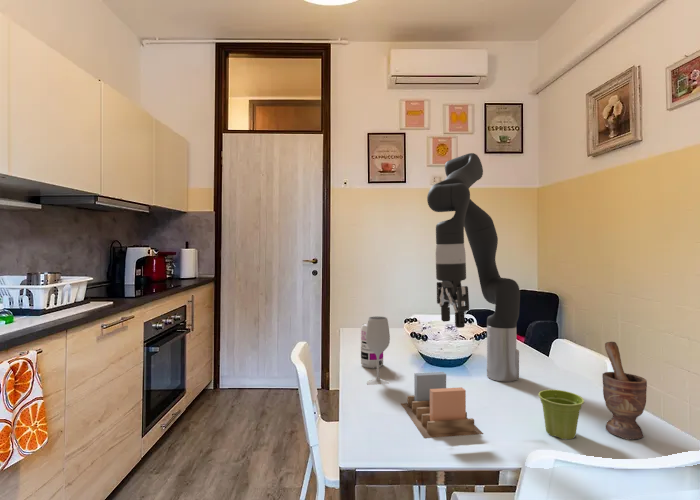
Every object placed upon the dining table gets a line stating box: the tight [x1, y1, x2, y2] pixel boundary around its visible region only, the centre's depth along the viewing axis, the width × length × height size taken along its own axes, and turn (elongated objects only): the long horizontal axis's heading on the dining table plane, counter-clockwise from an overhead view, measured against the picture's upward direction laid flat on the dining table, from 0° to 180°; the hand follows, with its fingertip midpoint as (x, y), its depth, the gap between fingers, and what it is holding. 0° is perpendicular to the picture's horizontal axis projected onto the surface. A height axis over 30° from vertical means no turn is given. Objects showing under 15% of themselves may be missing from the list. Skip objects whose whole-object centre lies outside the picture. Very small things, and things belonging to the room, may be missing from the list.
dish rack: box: [400, 395, 484, 439], centre depth 101 cm, size 14×20×4 cm
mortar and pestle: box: [601, 341, 648, 441], centre depth 96 cm, size 12×9×20 cm
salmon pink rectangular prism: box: [430, 387, 467, 421], centre depth 95 cm, size 8×2×9 cm, turn 98°
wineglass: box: [366, 316, 391, 386], centre depth 129 cm, size 8×8×21 cm
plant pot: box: [538, 389, 585, 440], centre depth 94 cm, size 9×9×9 cm
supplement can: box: [360, 322, 384, 369], centre depth 149 cm, size 8×8×15 cm
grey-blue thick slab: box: [413, 371, 447, 401], centre depth 107 cm, size 8×2×9 cm, turn 98°
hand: (452, 324), depth 105 cm, fingers open, 8 cm apart
